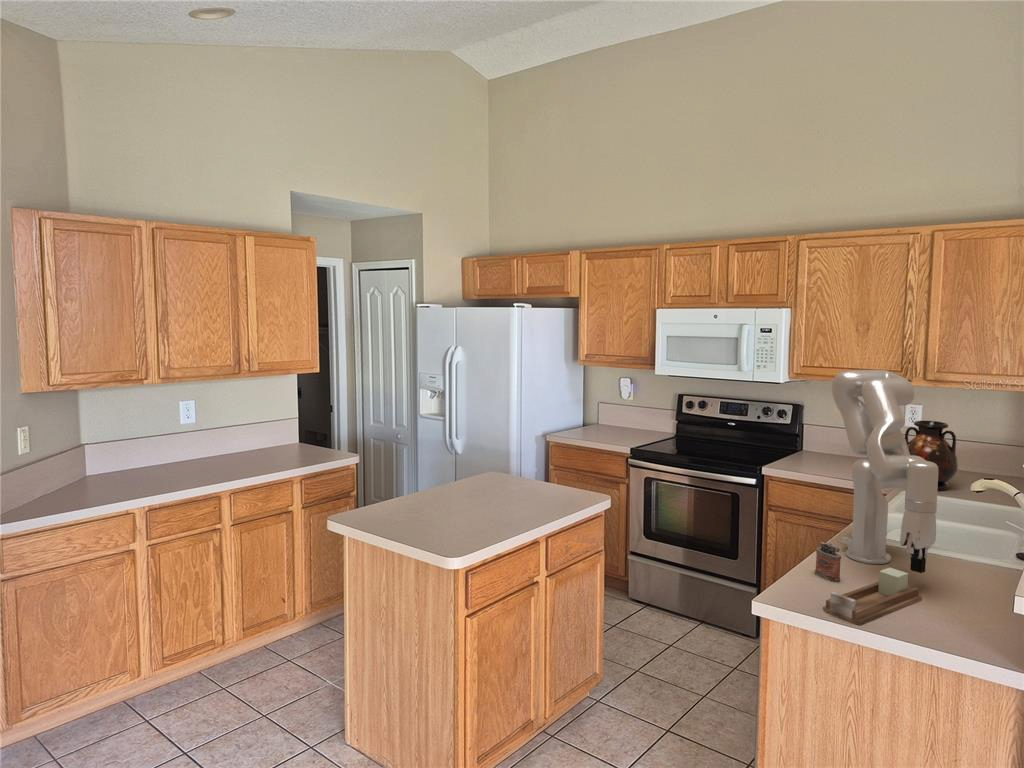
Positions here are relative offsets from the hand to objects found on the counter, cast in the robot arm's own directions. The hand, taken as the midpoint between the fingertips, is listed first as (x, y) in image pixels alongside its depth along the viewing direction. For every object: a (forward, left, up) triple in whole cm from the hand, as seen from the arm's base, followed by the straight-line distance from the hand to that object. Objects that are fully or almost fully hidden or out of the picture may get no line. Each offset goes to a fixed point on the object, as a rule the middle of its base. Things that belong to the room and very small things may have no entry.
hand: (917, 571), depth 192 cm
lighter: (-19, -13, -6) cm, 23 cm away
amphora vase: (-58, +114, -6) cm, 128 cm away
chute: (-1, -20, -5) cm, 20 cm away
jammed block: (-1, -11, -4) cm, 12 cm away
